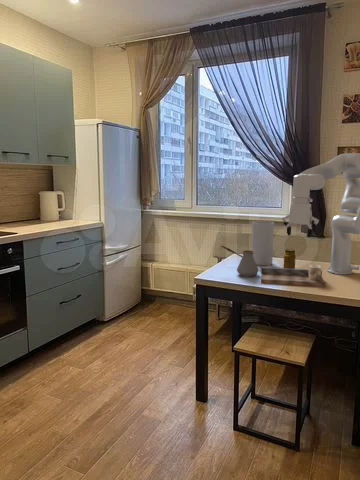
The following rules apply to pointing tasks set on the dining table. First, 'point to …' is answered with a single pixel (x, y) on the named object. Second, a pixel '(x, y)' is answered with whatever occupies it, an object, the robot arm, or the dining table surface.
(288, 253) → the condiment
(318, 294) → the dining table surface
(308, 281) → the board
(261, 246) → the cylinder vase
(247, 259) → the coffee pot
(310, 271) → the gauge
